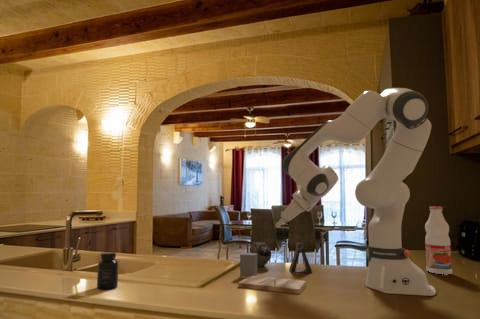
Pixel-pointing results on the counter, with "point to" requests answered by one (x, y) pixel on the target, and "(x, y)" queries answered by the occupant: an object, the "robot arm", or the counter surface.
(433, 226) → the fruit juice
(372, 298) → the counter surface
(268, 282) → the board
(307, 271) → the dark brown triangular frame
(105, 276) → the supplement bottle
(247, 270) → the sanding block
